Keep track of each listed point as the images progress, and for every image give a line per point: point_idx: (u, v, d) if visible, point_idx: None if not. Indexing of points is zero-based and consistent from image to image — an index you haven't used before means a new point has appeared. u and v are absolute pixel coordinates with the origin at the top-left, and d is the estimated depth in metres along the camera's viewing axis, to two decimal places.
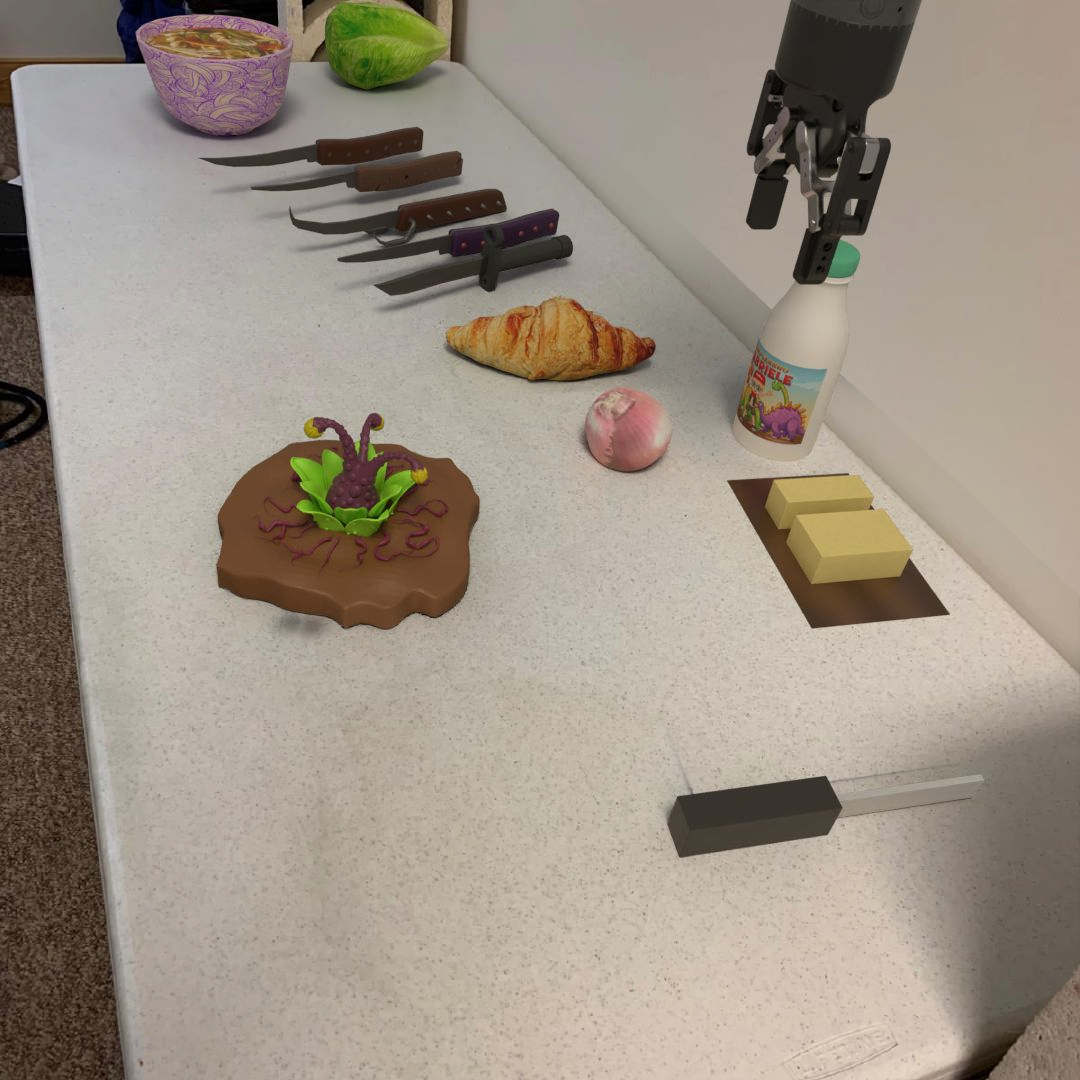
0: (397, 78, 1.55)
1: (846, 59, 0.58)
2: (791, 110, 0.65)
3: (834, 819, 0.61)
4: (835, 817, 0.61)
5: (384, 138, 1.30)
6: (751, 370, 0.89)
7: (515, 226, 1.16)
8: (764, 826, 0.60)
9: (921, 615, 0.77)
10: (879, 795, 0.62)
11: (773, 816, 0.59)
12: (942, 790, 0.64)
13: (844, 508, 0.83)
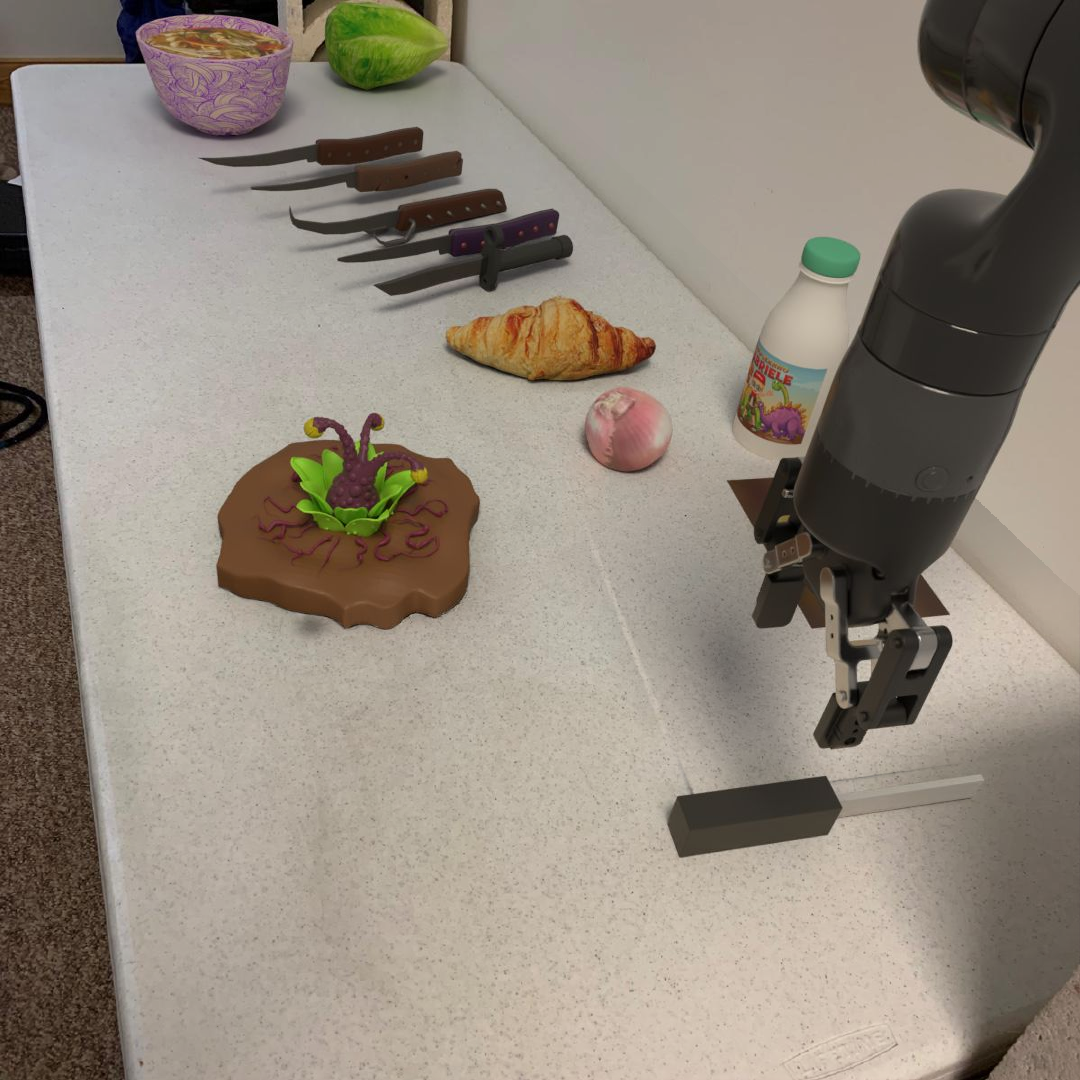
0: (397, 78, 1.55)
1: (893, 530, 0.43)
2: (814, 540, 0.49)
3: (834, 819, 0.61)
4: (835, 817, 0.61)
5: (384, 138, 1.30)
6: (751, 370, 0.89)
7: (515, 226, 1.16)
8: (764, 826, 0.60)
9: (921, 615, 0.77)
10: (879, 795, 0.62)
11: (773, 816, 0.59)
12: (942, 790, 0.64)
13: None
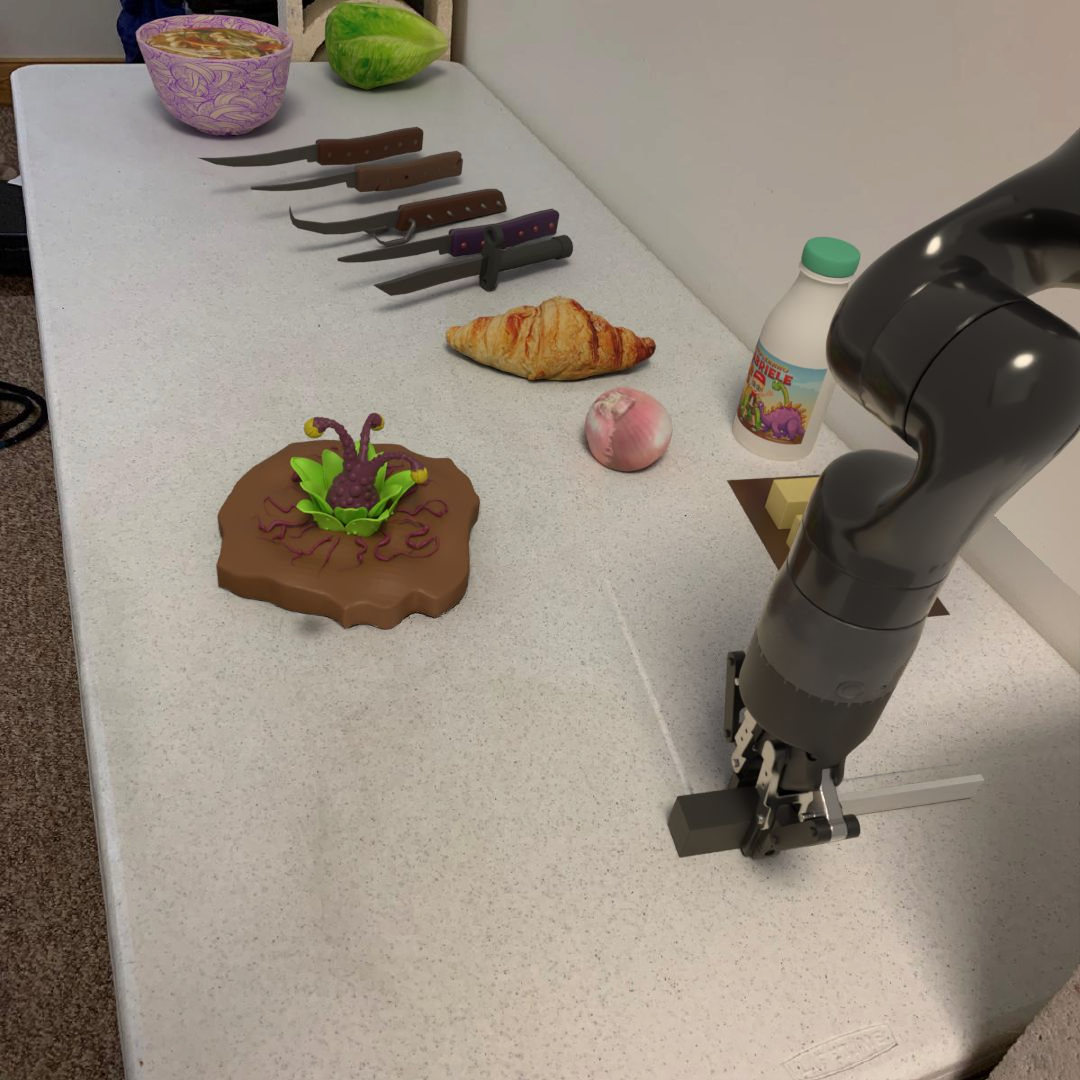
0: (397, 78, 1.55)
1: (820, 726, 0.49)
2: None
3: None
4: None
5: (384, 138, 1.30)
6: (751, 370, 0.89)
7: (515, 226, 1.16)
8: None
9: None
10: (879, 795, 0.62)
11: None
12: (942, 790, 0.64)
13: None
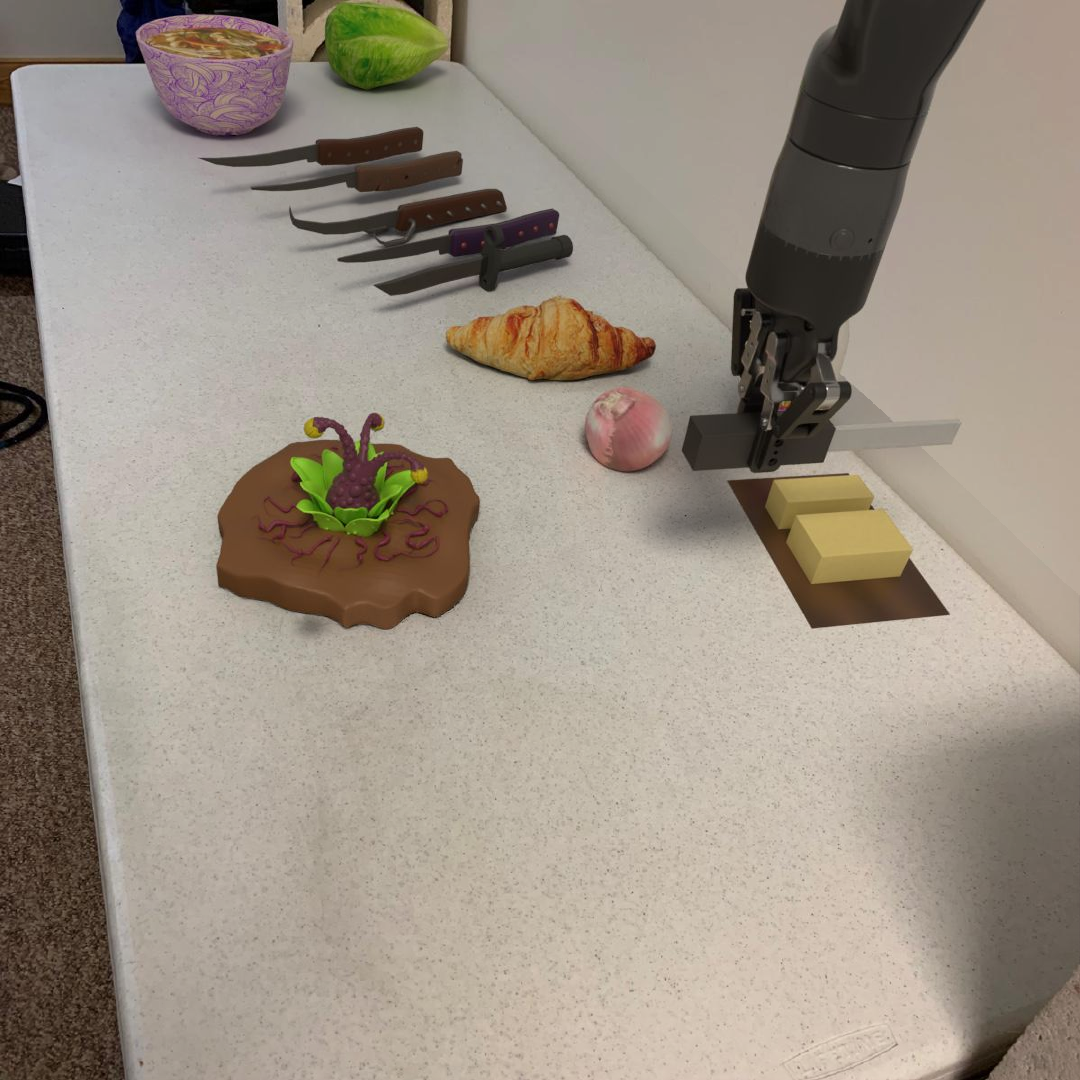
0: (397, 78, 1.55)
1: (817, 285, 0.57)
2: (763, 316, 0.64)
3: (828, 442, 0.69)
4: (829, 440, 0.69)
5: (384, 138, 1.30)
6: None
7: (515, 226, 1.16)
8: None
9: (921, 615, 0.77)
10: (868, 428, 0.71)
11: None
12: (924, 430, 0.72)
13: (844, 508, 0.83)
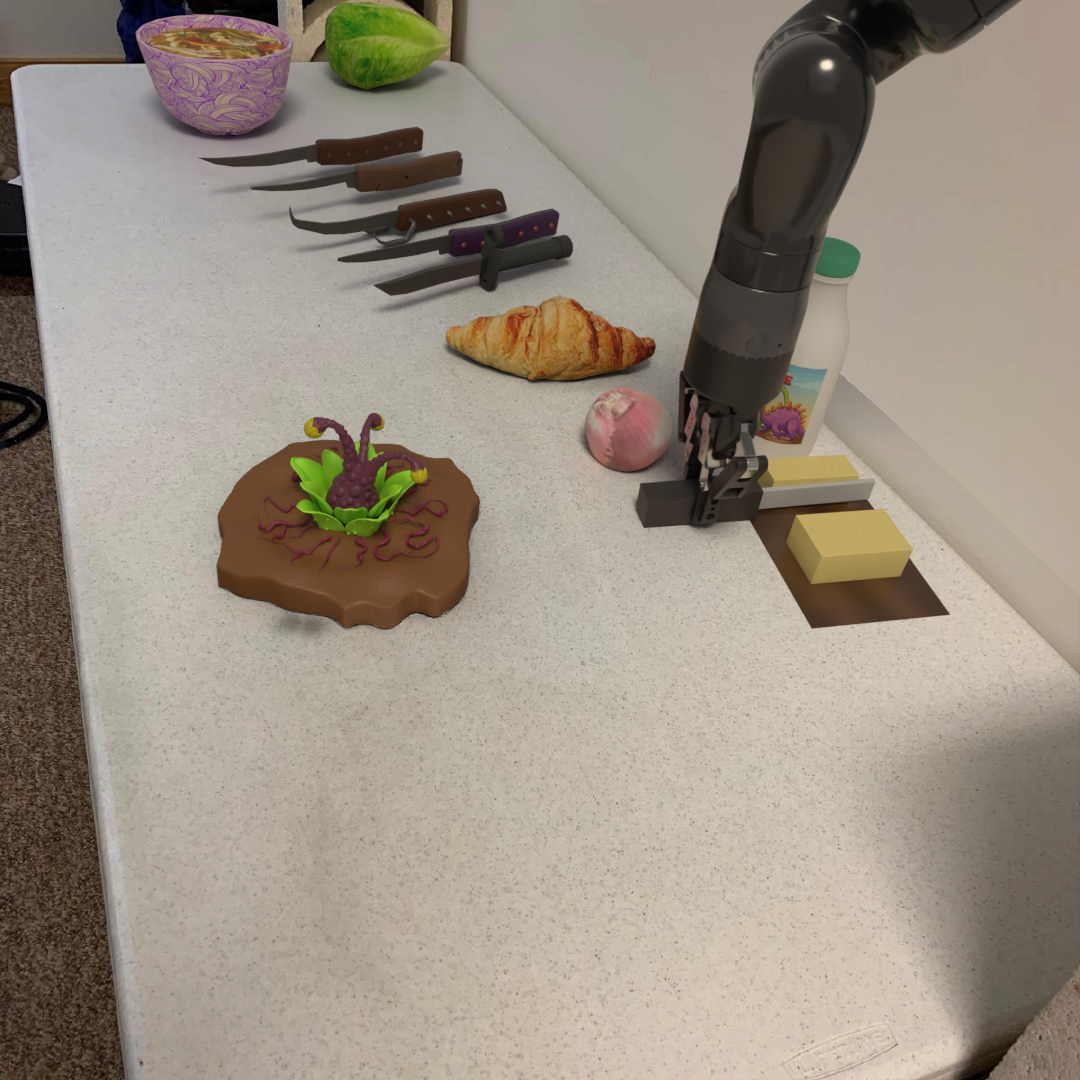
0: (397, 78, 1.55)
1: (737, 380, 0.71)
2: (699, 397, 0.77)
3: (758, 502, 0.83)
4: (759, 500, 0.82)
5: (384, 138, 1.30)
6: None
7: (515, 226, 1.16)
8: None
9: (921, 615, 0.77)
10: (793, 489, 0.84)
11: None
12: (843, 489, 0.85)
13: None
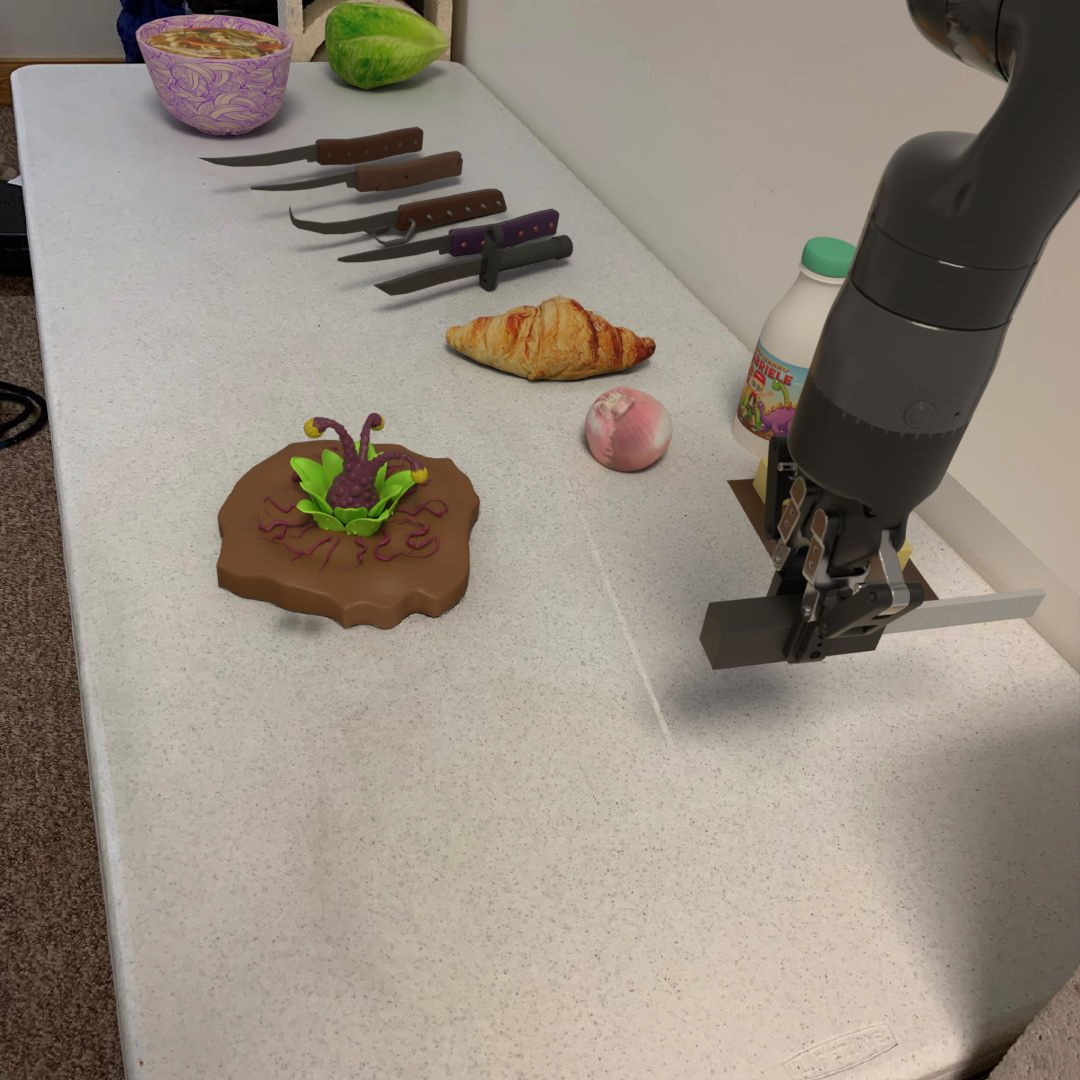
0: (397, 78, 1.55)
1: (883, 467, 0.44)
2: (808, 483, 0.50)
3: (882, 630, 0.56)
4: (883, 627, 0.56)
5: (384, 138, 1.30)
6: (751, 370, 0.89)
7: (515, 226, 1.16)
8: None
9: None
10: (930, 607, 0.57)
11: None
12: (999, 604, 0.58)
13: None
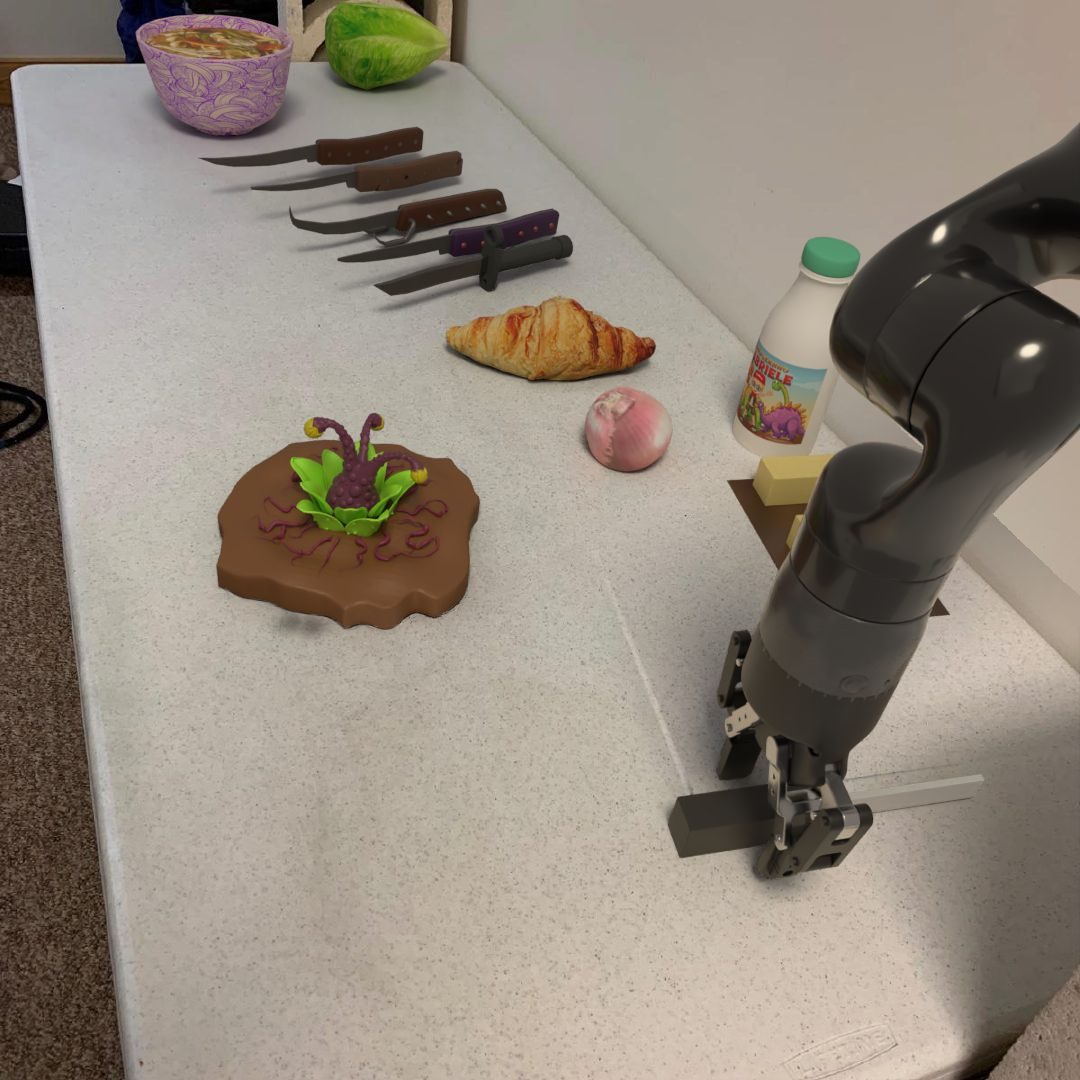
0: (397, 78, 1.55)
1: (824, 721, 0.49)
2: None
3: None
4: None
5: (384, 138, 1.30)
6: (751, 370, 0.89)
7: (515, 226, 1.16)
8: (764, 826, 0.60)
9: None
10: (879, 795, 0.62)
11: None
12: (942, 790, 0.64)
13: None
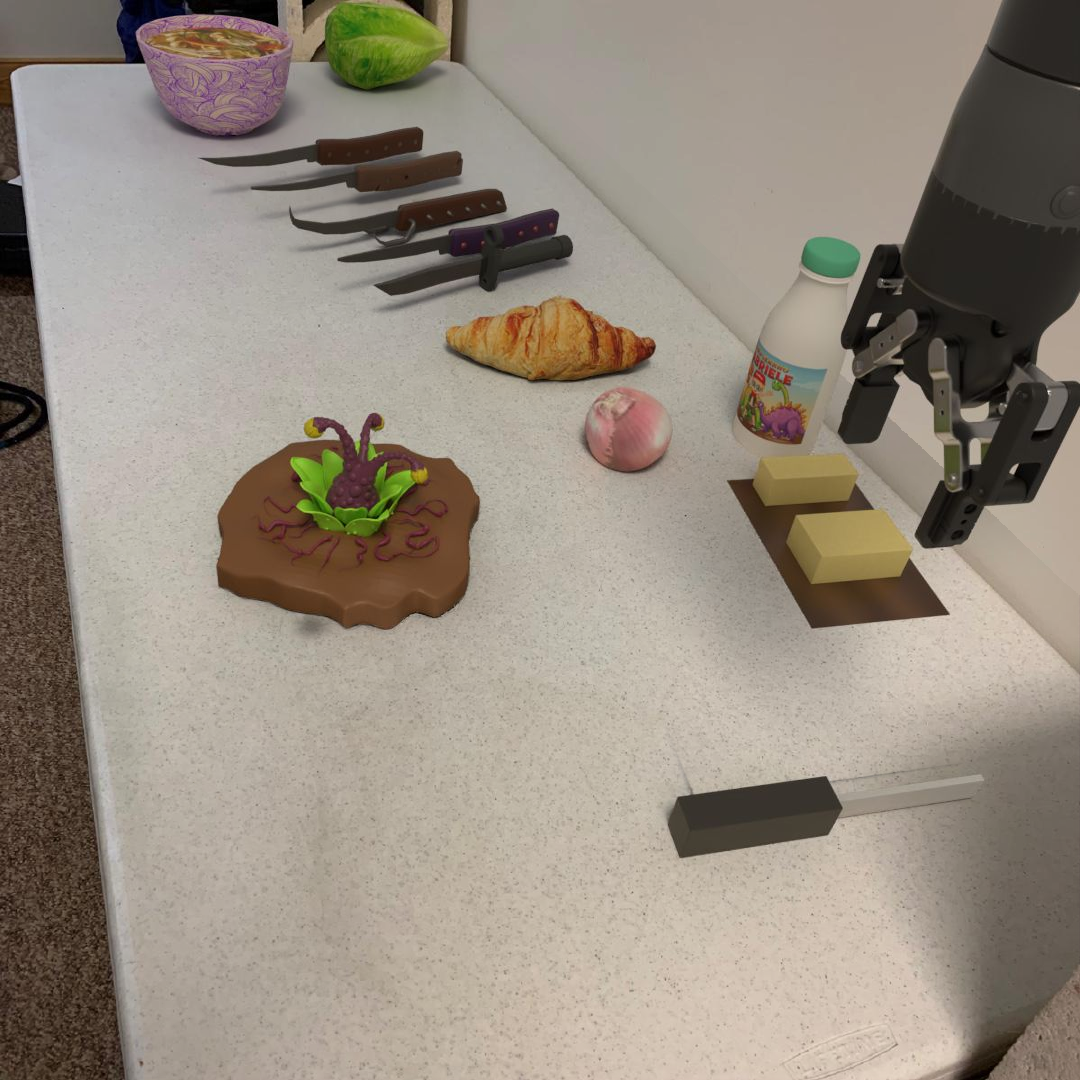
0: (397, 78, 1.55)
1: (1021, 271, 0.39)
2: (919, 315, 0.45)
3: (834, 819, 0.61)
4: (835, 817, 0.61)
5: (384, 138, 1.30)
6: (751, 370, 0.89)
7: (515, 226, 1.16)
8: (764, 826, 0.60)
9: (921, 615, 0.77)
10: (879, 795, 0.62)
11: (774, 816, 0.59)
12: (942, 790, 0.64)
13: (829, 485, 0.85)
